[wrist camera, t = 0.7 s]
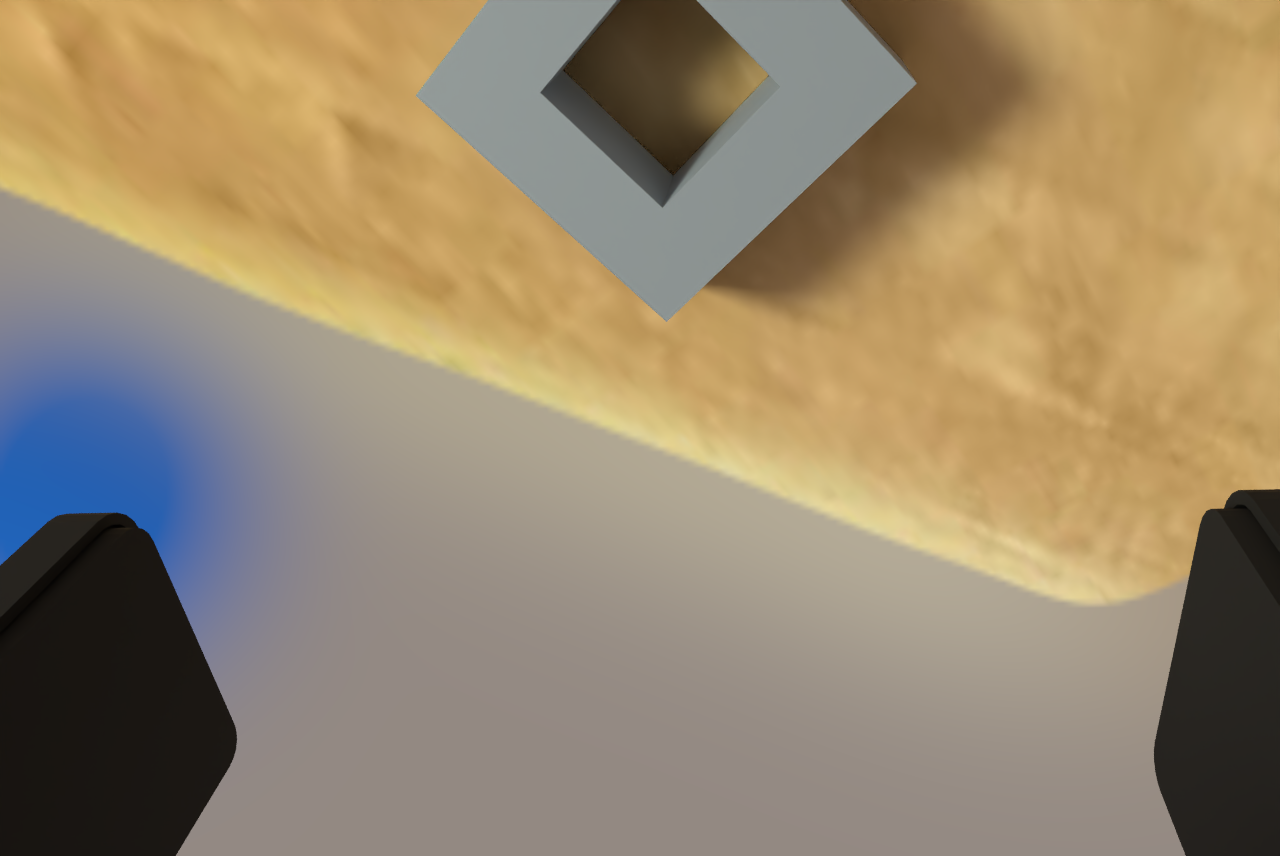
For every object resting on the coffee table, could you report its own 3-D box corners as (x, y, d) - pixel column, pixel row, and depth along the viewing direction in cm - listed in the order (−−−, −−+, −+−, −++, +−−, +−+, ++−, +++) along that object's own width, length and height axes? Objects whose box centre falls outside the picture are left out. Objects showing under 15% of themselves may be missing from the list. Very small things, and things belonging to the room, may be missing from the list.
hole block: (662, -202, 27) (647, -210, 24) (902, 60, 30) (916, 83, 27) (449, 73, 32) (416, 95, 29) (676, 281, 34) (666, 321, 31)
